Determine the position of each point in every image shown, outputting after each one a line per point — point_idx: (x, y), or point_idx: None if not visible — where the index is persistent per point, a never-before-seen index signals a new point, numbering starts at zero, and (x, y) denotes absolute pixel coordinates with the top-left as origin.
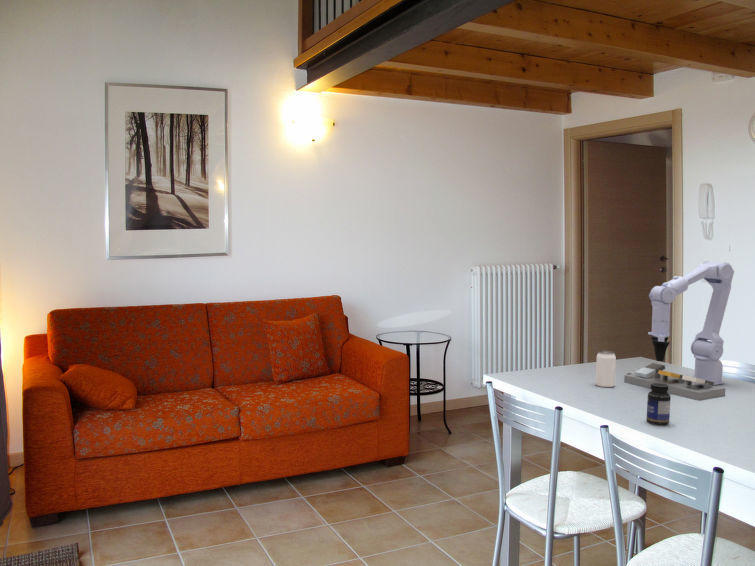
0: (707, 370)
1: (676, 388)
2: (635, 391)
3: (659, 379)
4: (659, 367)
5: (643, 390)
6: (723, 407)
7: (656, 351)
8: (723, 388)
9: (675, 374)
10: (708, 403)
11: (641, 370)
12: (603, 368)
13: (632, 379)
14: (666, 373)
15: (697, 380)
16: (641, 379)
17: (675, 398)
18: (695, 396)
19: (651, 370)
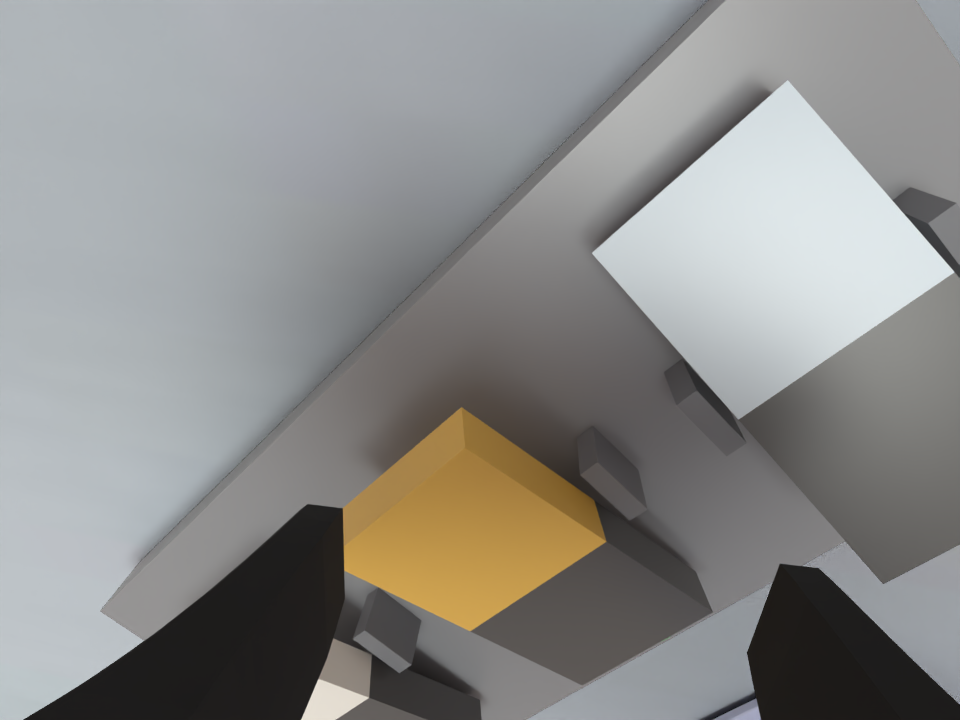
0: None
1: (228, 482)
2: (216, 42)
3: (598, 395)
4: (818, 493)
5: (317, 153)
6: (19, 651)
7: (143, 663)
8: None
9: (398, 586)
10: (80, 599)
11: (802, 205)
12: None
13: (680, 37)
14: (370, 502)
15: None
16: (555, 165)
17: (107, 414)
18: (138, 566)
19: (732, 357)
